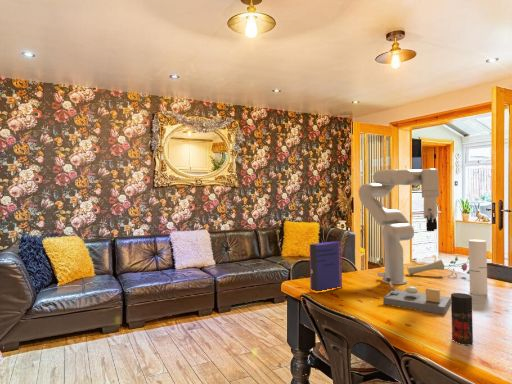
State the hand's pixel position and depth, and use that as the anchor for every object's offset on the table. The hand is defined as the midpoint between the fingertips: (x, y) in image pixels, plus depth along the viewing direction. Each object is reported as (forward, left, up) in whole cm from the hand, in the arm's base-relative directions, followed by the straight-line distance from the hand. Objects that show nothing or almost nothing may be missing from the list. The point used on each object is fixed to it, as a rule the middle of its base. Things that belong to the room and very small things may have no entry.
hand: (432, 230), depth 169 cm
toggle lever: (-12, -20, -27) cm, 36 cm away
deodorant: (+18, -52, -31) cm, 64 cm away
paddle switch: (+4, -23, -28) cm, 36 cm away
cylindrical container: (+17, +14, -31) cm, 38 cm away
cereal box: (-46, -20, -31) cm, 59 cm away
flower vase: (-4, +41, -31) cm, 51 cm away
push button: (-5, -20, -26) cm, 33 cm away
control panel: (-3, -20, -31) cm, 37 cm away
